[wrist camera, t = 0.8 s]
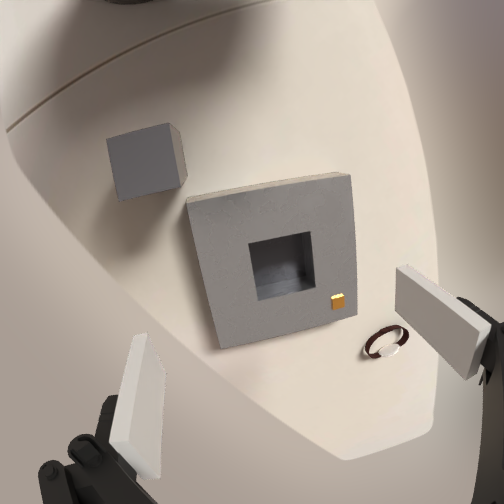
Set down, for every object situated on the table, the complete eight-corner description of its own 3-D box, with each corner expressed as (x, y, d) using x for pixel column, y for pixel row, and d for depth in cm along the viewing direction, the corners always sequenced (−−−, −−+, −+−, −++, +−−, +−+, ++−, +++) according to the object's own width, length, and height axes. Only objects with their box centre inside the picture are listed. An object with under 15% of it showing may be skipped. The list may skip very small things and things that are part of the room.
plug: (136, 142, 32) (106, 139, 21) (179, 132, 32) (169, 122, 21) (145, 185, 34) (119, 201, 22) (187, 175, 34) (181, 187, 23)
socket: (187, 197, 35) (185, 203, 31) (335, 171, 37) (351, 175, 33) (218, 331, 41) (221, 350, 37) (345, 301, 43) (358, 315, 39)
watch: (364, 357, 47) (374, 369, 44) (361, 336, 46) (371, 348, 42) (402, 337, 48) (413, 348, 44) (401, 316, 46) (413, 327, 42)
